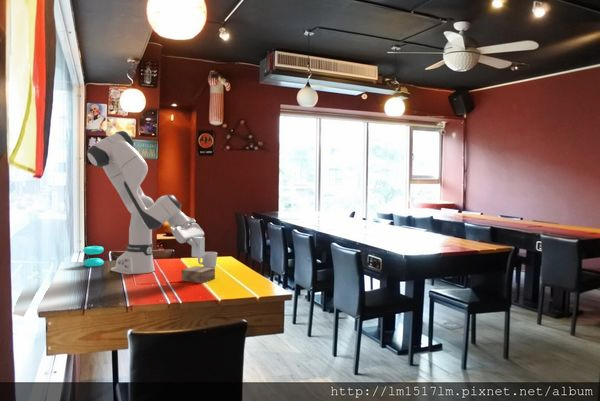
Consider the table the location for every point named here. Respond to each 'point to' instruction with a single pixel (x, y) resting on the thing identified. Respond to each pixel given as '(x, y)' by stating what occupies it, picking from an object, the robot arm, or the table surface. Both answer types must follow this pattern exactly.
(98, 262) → the donuts
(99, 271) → the table surface
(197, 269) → the base
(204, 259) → the cup
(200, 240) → the block
